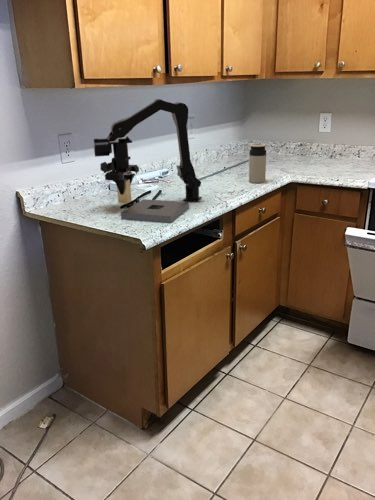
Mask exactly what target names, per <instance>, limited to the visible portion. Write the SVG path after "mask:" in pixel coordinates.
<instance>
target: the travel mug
mask: <svg viewBox="0 0 375 500" xmlns="http://www.w3.org/2000/svg"><path fill="white" fill-rule="evenodd" d="M249 146H250V150H249V157H248V160H249V161H248V162H249V163H248V182H249V183H252V184H262V183H263V184H264V183H265V182H266V174H267V173H266V171H267V170H266V169H267V167H266V166H267V150H266V146H267V144H266V143H252V144H250V145H249Z"/></svg>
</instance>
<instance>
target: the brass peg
mask: <svg viewBox="0 0 375 500" xmlns="http://www.w3.org/2000/svg"><path fill="white" fill-rule="evenodd" d="M131 189H132V187H131V185H130V179H126V184H125V189H124V193H123V195H121V194H120V192H119V190H118V187H117V186H116V191H117V199H118V200H117V202H118V203H119V204H128V203H130V202H132V191H131Z"/></svg>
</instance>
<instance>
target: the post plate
mask: <svg viewBox="0 0 375 500" xmlns="http://www.w3.org/2000/svg"><path fill="white" fill-rule="evenodd" d="M189 208H190V201H178V200H176V201H175V200H161V199H159V200H158V199H145V198H143V199H141V200H140V201H138V202H136V203H134V204H132V205H131V206H130V207H127V208H125V209H124V210H122V211H121V212H120V219H121V220H129V221H130V220H131V221H141V222H144V221H145V222H155V223H167V224H168V223H169V224H172V223H173V222H174V221H175V220H176V219H177V218H179V217H180V216H181V215H183V214H184V213H185V212H186V211H187V210H188V209H189ZM172 221H173V222H172Z"/></svg>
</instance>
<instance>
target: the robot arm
mask: <svg viewBox="0 0 375 500" xmlns="http://www.w3.org/2000/svg"><path fill="white" fill-rule="evenodd" d="M160 111H164V112H167V113H171V117H172V120H173V123H174V124H175V129H176V136H177V143H178V153H179V165H176V169H177V176H178V177H179V179H180V180H181V181H182V182H183V183H184V184H185V188H184V189H185V197H184V198H183V199H182V202H199V201H200V200H201V199H202V198H203V197H202V196H200V187H201V185H202V181H201V180H200V179H198V178H197V175H196V172H195V168H194V166H193V163H192V161H191V155H190V154H191V153H190V145H189V144H190V143H189V135H188V121H189V120H188V119H189V107H188V105H186V104H185V103H183V102H178V101H177V102H174V103H173V102H169V101H165V100H163V99H162V98H161V99H160V98H156V99H154V101H152V102H151V103H149V104H147V105H146V106H144V107H143V108H141V109H140V110H138V111H137V112H135V113H134V114H132V115H130V116H127V117H124V118H122V119H119V120H117V121H115V122H113V123H112V124H111V126H110V132H109V134H108V135H107V138H106V137H105V138H93V144H94V145H93V151H94V157H97V158H98V157H109V156H110V154H113V157H112V158H111V162H108V163H107V162H106V161H104V162H101V163H100V166H99V167H100V171H101V172H103V174H104V180H105V181H113V182H114V183H115V186H116V188H117V187H118V190H119V192H120V194H121V195H123V193H124V189H125V184H126V179H130V186H131V185H132V183H133V179H134V178H135V176H136V174H137V173H139V172H140V168H139V166H138V164H130V160H132V159H131V156H129V146H128V145H129V144H131V143H133V140H131V139H130V137H129V136H128V134H129V133H130V132H131V131H132V130H133V129H134V128H135V127H136V126H137V125H138V124H140V123H142V122H143V121H145V120H147V119H148V118H150V117H152V116H153V115H154V114H157V113H158V112H160ZM125 136H126V137H125ZM112 148H113V149H112ZM133 172H134V173H133Z"/></svg>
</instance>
